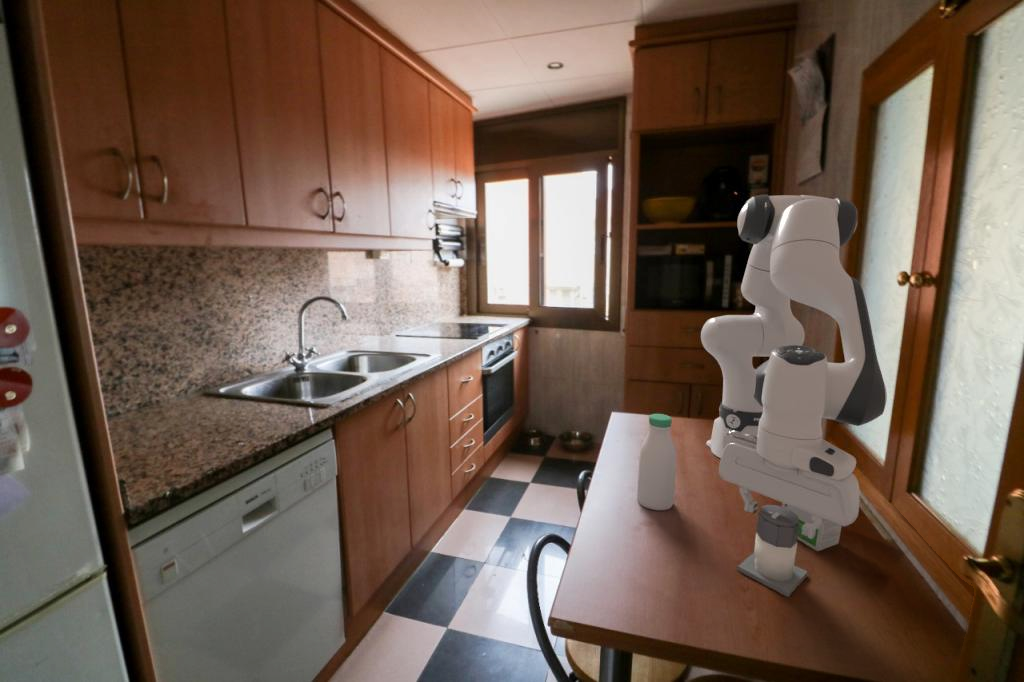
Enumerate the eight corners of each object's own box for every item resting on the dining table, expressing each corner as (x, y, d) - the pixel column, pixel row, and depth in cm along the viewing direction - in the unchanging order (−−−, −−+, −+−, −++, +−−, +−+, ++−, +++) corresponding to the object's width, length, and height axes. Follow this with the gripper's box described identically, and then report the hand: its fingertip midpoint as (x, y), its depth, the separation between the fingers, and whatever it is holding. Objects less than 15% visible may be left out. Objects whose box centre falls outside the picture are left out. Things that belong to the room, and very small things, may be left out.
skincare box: (777, 528, 90) (786, 455, 87) (799, 521, 93) (808, 450, 90) (819, 553, 82) (830, 474, 80) (842, 544, 85) (853, 468, 82)
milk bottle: (675, 513, 95) (682, 424, 92) (638, 509, 97) (643, 421, 93) (670, 495, 103) (676, 412, 99) (635, 491, 104) (640, 409, 100)
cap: (766, 524, 80) (768, 499, 79) (800, 539, 75) (803, 513, 75) (751, 535, 76) (754, 510, 75) (787, 551, 72) (790, 525, 71)
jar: (758, 552, 83) (763, 503, 81) (806, 575, 76) (814, 523, 75) (737, 570, 78) (742, 518, 76) (788, 597, 72) (795, 541, 70)
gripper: (715, 431, 79) (709, 503, 82) (856, 474, 63) (842, 562, 66) (732, 423, 83) (726, 492, 85) (869, 462, 67) (856, 545, 70)
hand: (777, 523), depth 75 cm, fingers open, 8 cm apart
